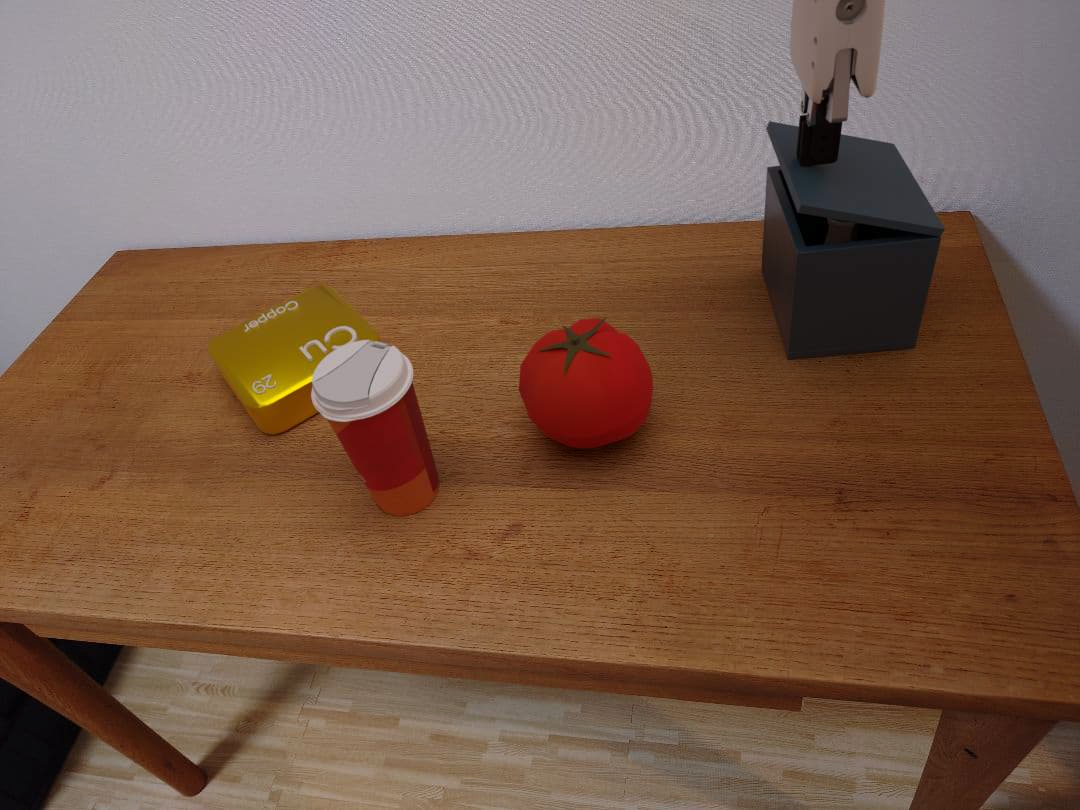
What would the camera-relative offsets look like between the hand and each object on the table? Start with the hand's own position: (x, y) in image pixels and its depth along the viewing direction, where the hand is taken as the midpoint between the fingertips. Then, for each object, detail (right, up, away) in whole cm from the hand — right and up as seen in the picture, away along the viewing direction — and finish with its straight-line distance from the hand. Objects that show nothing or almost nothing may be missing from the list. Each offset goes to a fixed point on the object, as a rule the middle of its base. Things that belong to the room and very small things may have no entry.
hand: (816, 160), depth 71 cm
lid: (+3, -1, +1) cm, 4 cm away
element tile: (-50, -18, +17) cm, 56 cm away
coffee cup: (-36, -29, +2) cm, 47 cm away
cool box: (+6, -11, +11) cm, 17 cm away
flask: (+5, -11, +11) cm, 16 cm away
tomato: (-20, -24, +5) cm, 31 cm away
